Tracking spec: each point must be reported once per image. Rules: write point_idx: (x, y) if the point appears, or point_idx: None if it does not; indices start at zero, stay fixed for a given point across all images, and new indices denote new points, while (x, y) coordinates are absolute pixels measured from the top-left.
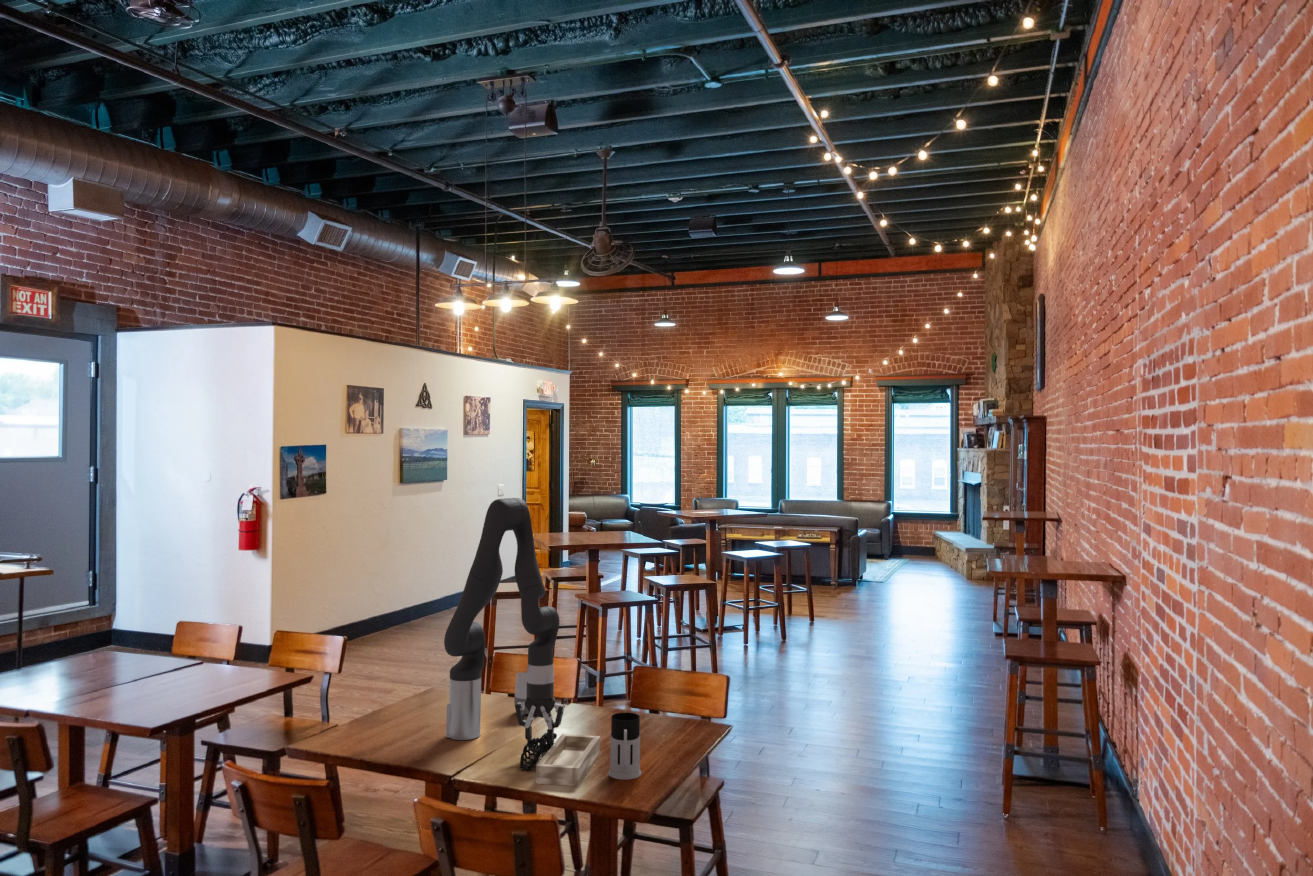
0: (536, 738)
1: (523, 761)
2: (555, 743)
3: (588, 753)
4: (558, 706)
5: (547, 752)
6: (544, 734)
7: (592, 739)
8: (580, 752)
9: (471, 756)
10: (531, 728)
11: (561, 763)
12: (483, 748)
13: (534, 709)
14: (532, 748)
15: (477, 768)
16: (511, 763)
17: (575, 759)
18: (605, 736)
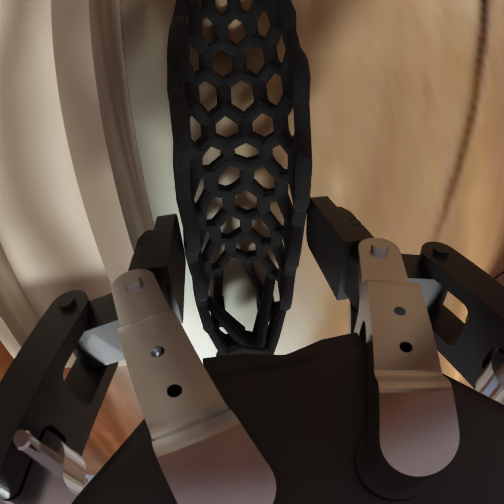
0: (291, 295)
1: (266, 9)
2: (115, 220)
3: None
4: (26, 500)
5: (84, 17)
6: (270, 352)
7: (9, 330)
8: (43, 260)
9: (492, 146)
10: (333, 284)
11: (40, 72)
12: (467, 233)
13: (392, 417)
14: (268, 160)
15: (450, 9)
16: (345, 73)
17: (9, 161)
18: (122, 418)
